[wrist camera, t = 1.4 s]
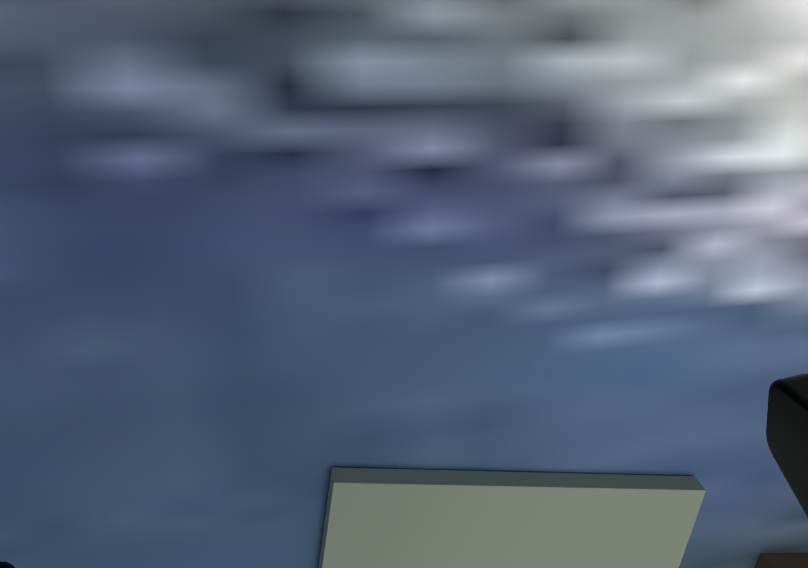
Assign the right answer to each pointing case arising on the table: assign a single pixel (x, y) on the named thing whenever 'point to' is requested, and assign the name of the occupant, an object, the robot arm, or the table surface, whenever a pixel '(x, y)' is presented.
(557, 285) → the table surface
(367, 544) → the mat
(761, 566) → the two-tone brown block
